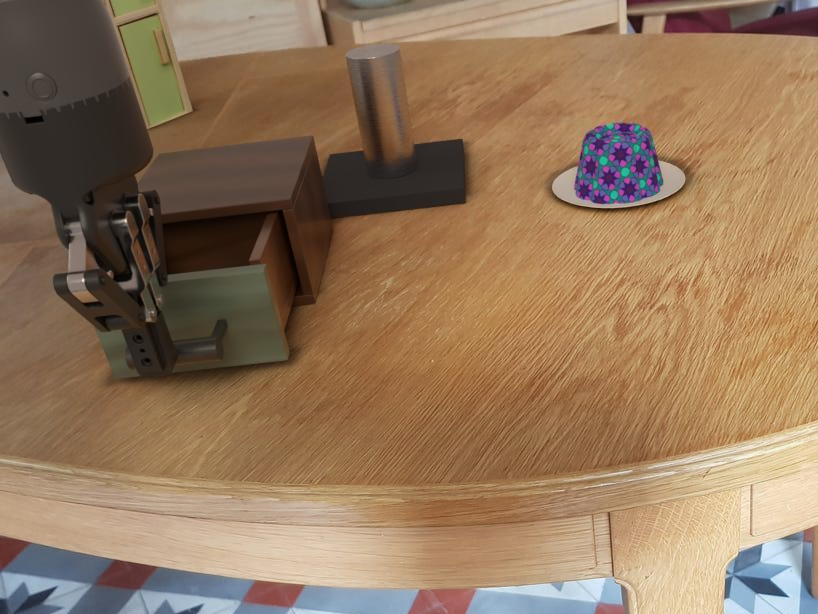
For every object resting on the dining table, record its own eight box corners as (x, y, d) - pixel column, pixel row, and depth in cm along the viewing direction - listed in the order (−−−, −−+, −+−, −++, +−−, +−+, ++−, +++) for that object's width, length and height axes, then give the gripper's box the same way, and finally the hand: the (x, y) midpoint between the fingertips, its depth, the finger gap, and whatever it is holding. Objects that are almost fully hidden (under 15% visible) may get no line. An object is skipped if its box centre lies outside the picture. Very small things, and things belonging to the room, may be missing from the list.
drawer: (278, 393, 63) (252, 301, 59) (97, 412, 63) (58, 323, 59) (310, 275, 77) (291, 194, 73) (161, 292, 78) (133, 213, 73)
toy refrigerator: (148, 138, 116) (86, -56, 103) (113, 132, 120) (49, -56, 107) (199, 118, 120) (145, -70, 108) (164, 112, 124) (108, -70, 111)
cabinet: (315, 303, 75) (290, 198, 70) (147, 322, 76) (110, 219, 70) (333, 229, 86) (313, 134, 81) (188, 246, 87) (158, 153, 82)
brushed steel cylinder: (365, 181, 91) (342, 61, 84) (369, 163, 95) (347, 47, 88) (417, 175, 91) (398, 54, 84) (418, 157, 95) (400, 40, 88)
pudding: (697, 207, 81) (699, 146, 78) (557, 222, 82) (554, 163, 79) (672, 159, 91) (673, 103, 88) (547, 173, 92) (544, 118, 88)
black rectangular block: (317, 220, 89) (314, 204, 88) (332, 168, 100) (329, 154, 99) (465, 203, 88) (464, 187, 87) (464, 152, 99) (462, 138, 98)
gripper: (29, 58, 54) (130, 326, 65) (-74, 132, 44) (67, 437, 54) (157, 42, 54) (238, 314, 64) (84, 113, 43) (195, 424, 54)
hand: (159, 370), depth 59 cm, fingers closed
